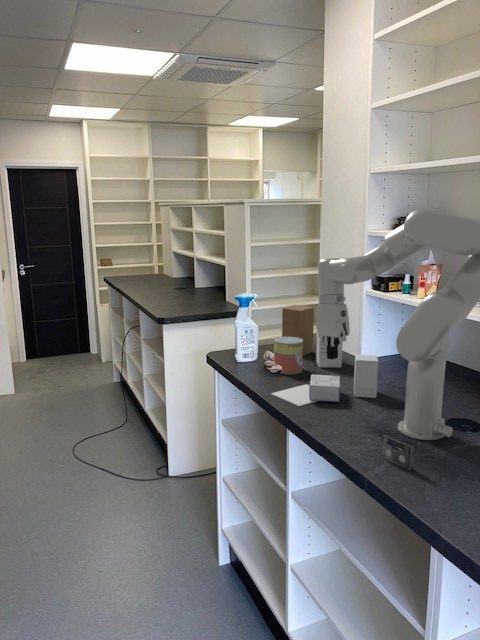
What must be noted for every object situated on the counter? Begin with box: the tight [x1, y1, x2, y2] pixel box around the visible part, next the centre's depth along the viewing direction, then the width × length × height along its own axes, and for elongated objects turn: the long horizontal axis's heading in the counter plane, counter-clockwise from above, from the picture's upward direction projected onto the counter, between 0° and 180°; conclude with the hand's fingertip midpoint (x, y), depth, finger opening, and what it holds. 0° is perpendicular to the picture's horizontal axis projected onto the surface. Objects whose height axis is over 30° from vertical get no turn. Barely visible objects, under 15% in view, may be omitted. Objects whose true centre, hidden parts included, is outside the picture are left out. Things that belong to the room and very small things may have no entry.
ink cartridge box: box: [309, 374, 341, 403], centre depth 172 cm, size 10×6×14 cm
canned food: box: [273, 336, 304, 375], centre depth 200 cm, size 11×11×12 cm
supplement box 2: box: [353, 354, 379, 399], centre depth 173 cm, size 7×7×13 cm
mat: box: [270, 384, 318, 408], centre depth 172 cm, size 14×16×1 cm
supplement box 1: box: [315, 332, 343, 368], centre depth 206 cm, size 10×9×17 cm
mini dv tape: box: [380, 434, 415, 472], centre depth 125 cm, size 8×2×6 cm, turn 35°
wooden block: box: [281, 304, 315, 356], centre depth 224 cm, size 10×10×20 cm
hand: (332, 358), depth 159 cm, fingers closed
